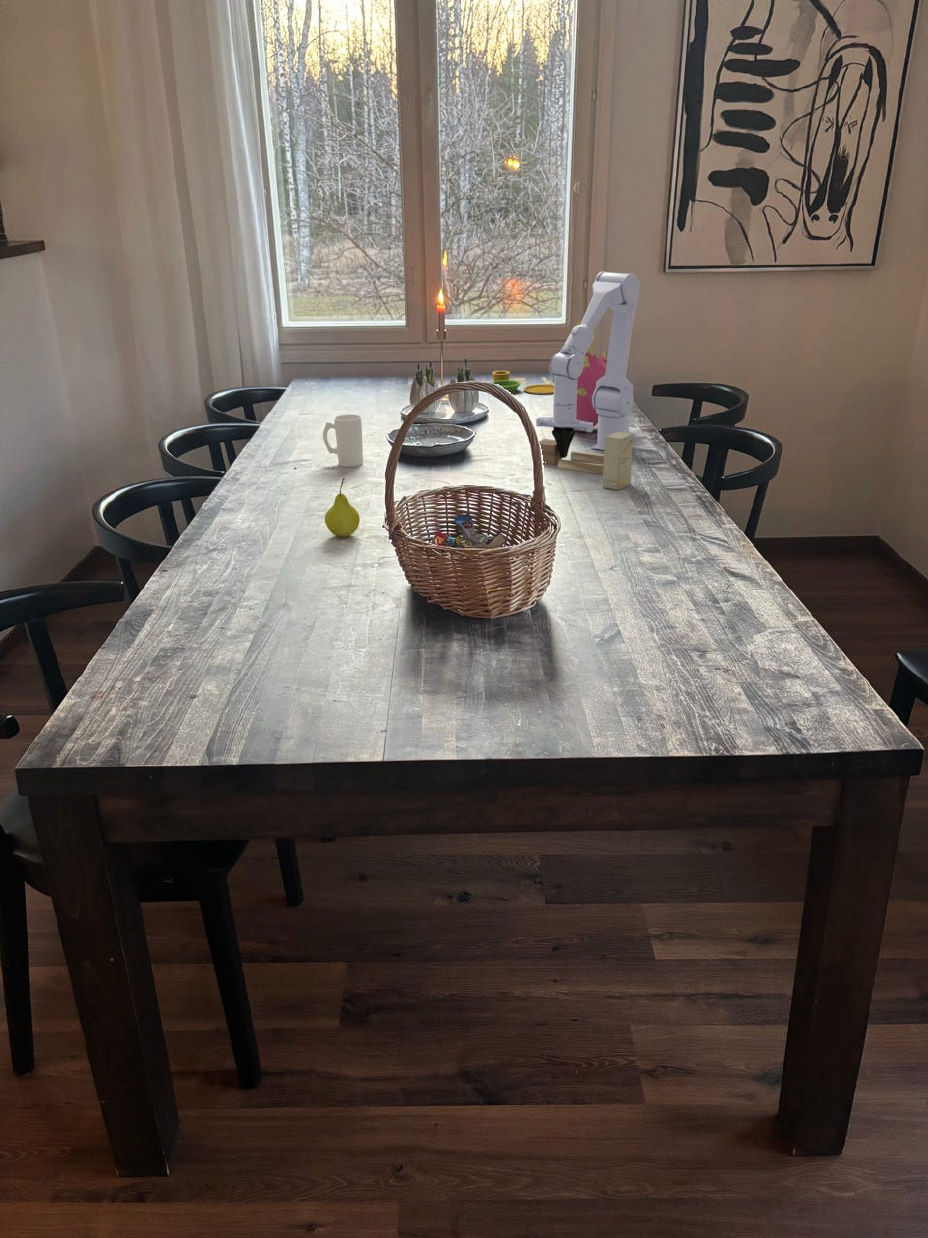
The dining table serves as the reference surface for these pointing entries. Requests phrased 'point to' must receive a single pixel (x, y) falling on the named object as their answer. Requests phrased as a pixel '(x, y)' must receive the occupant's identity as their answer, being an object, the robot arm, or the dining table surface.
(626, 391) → the robot arm
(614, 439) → the skincare box
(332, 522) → the fruit
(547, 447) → the block
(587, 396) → the pitaya
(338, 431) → the mug
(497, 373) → the tableware set
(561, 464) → the light wooden stepped bars
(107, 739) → the dining table surface
